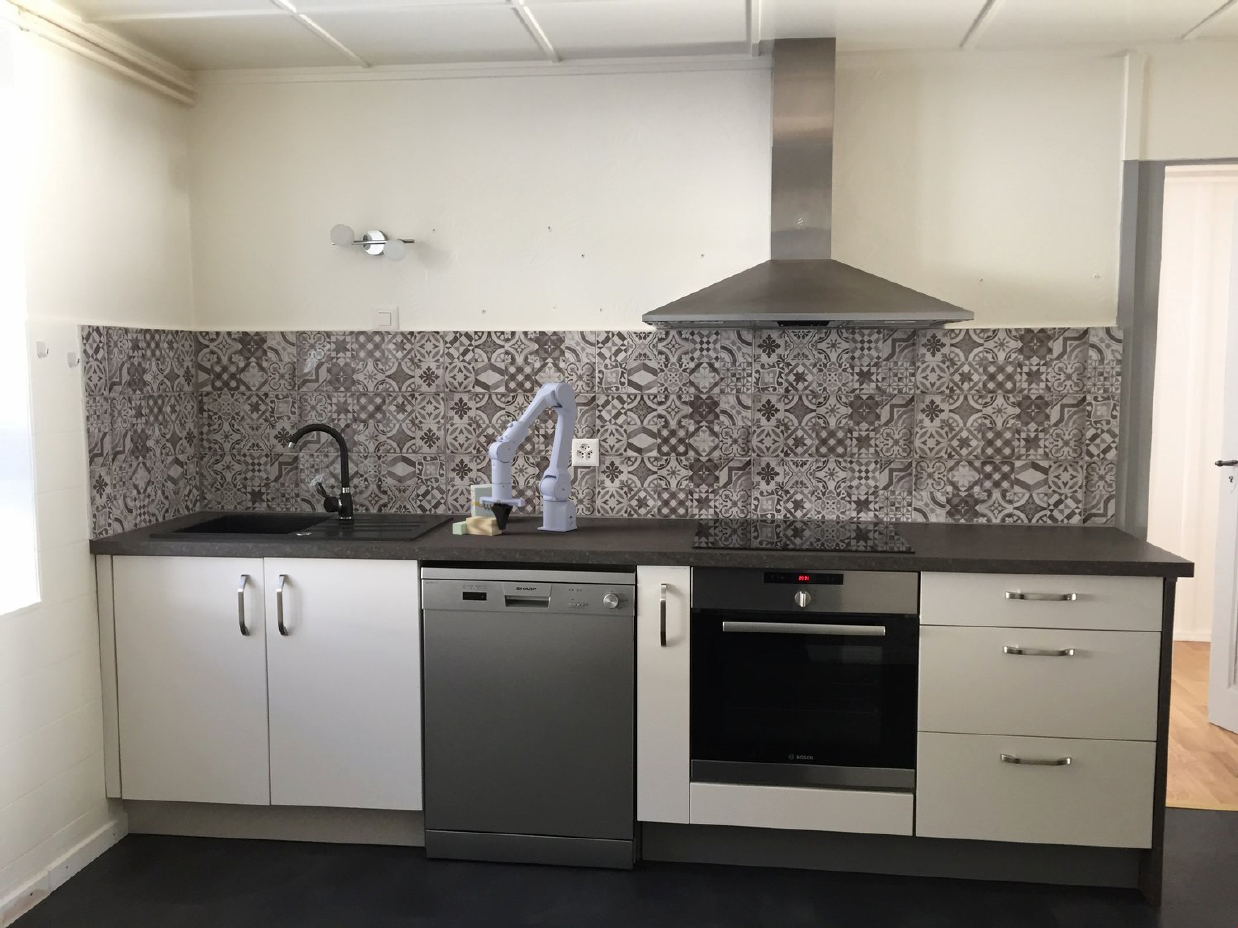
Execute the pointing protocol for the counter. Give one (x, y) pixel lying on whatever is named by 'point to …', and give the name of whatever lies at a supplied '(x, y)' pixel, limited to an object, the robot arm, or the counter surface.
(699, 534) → the counter surface
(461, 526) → the rail
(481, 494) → the ink box
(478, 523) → the block
